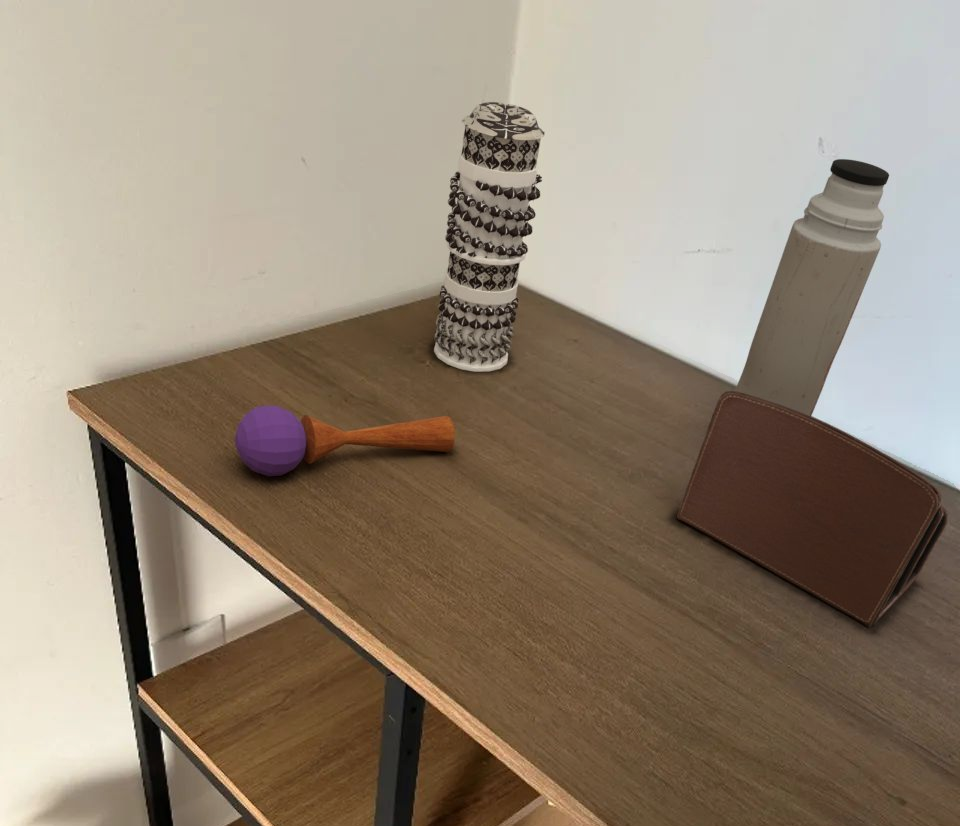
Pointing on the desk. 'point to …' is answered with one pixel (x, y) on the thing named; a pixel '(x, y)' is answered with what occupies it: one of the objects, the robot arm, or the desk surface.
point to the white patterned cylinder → (487, 235)
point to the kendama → (325, 438)
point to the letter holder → (812, 505)
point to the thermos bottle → (816, 288)
